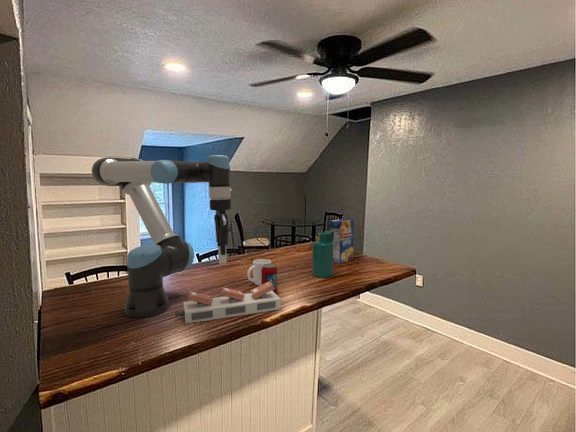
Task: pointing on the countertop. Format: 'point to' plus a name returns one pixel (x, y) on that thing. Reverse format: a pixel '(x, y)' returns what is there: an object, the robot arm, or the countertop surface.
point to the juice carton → (342, 240)
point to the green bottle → (323, 255)
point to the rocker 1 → (200, 297)
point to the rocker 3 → (262, 289)
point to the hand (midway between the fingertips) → (222, 262)
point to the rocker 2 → (232, 293)
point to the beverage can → (269, 275)
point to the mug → (257, 270)
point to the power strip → (229, 307)
